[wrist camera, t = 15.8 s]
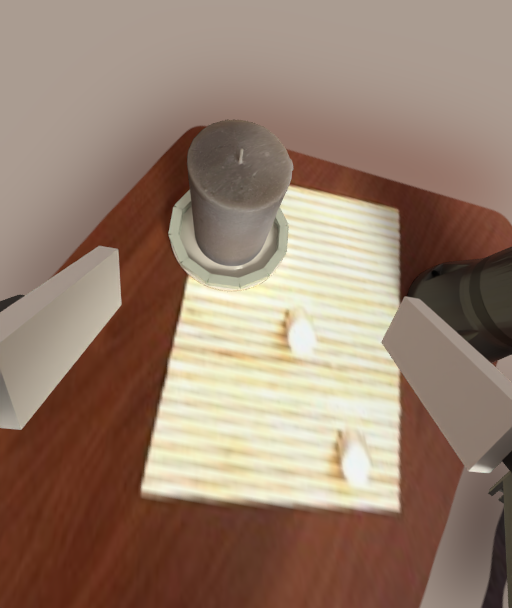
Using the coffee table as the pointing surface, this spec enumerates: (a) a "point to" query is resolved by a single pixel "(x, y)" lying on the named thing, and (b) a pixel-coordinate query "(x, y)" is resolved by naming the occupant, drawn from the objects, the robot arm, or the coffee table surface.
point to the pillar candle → (236, 188)
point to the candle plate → (221, 274)
